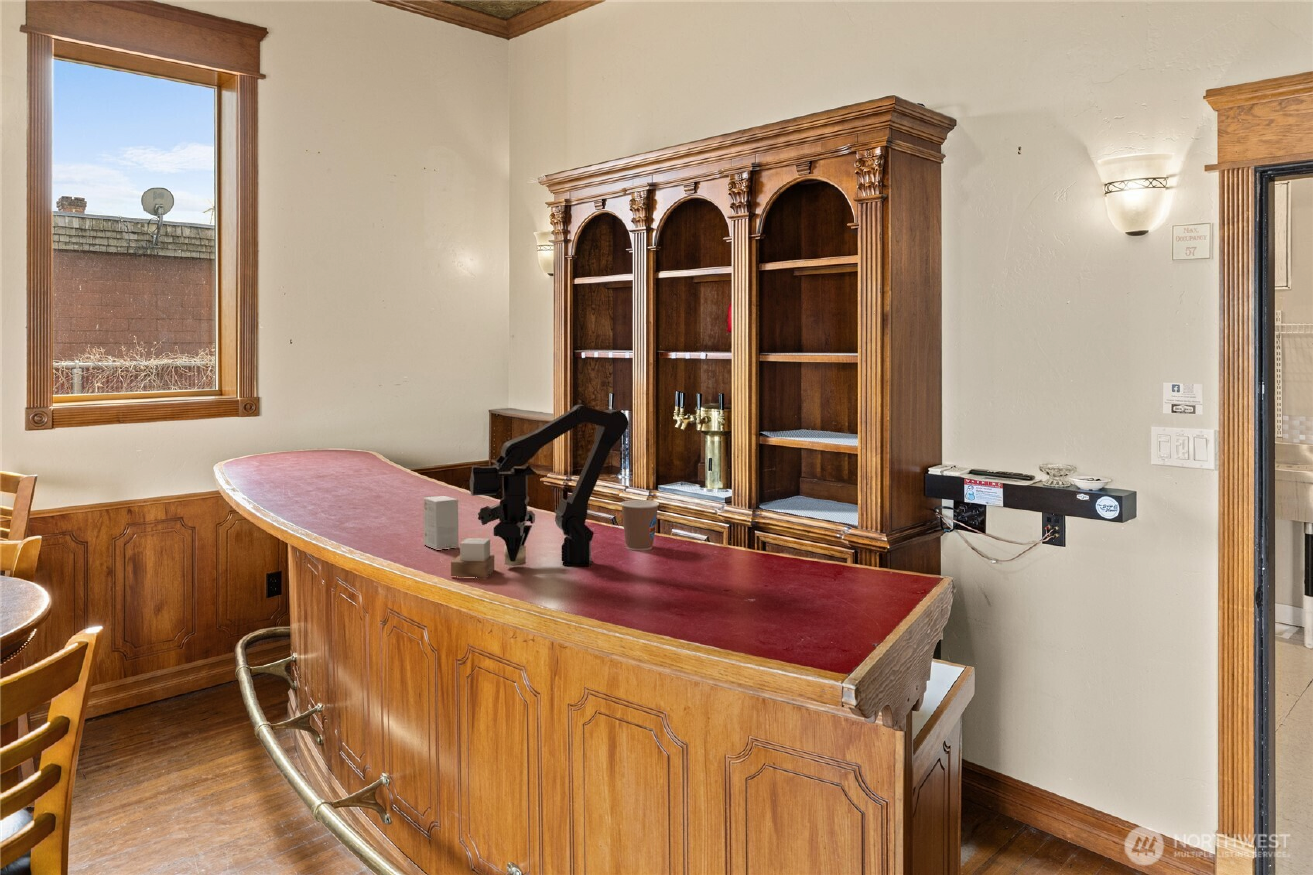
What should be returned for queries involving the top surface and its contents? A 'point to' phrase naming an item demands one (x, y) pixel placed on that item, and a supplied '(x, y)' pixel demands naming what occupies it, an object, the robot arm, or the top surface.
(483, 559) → the grey block
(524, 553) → the birch puck
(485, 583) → the top surface
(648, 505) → the coffee cup
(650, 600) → the top surface
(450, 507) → the small box
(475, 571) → the walnut slab
